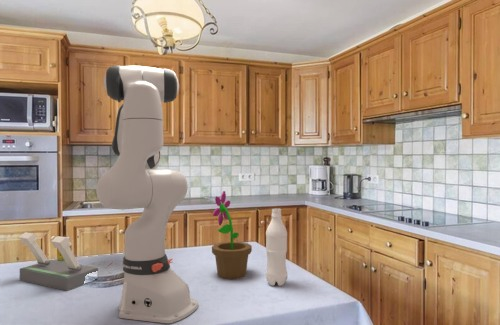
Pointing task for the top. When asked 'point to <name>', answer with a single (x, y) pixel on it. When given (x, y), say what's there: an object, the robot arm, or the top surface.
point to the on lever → (34, 247)
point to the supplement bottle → (59, 256)
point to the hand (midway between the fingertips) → (117, 206)
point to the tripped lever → (66, 252)
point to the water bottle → (276, 250)
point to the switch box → (55, 275)
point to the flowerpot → (229, 246)
